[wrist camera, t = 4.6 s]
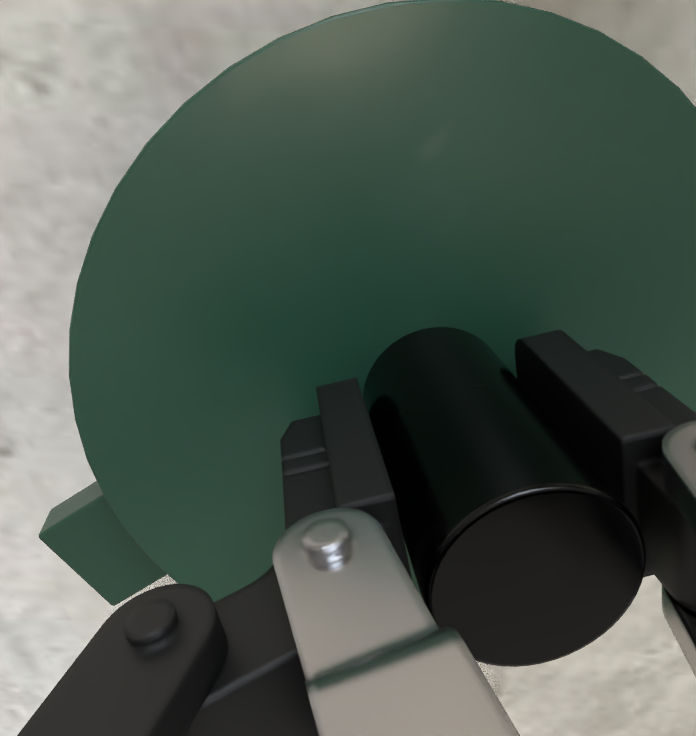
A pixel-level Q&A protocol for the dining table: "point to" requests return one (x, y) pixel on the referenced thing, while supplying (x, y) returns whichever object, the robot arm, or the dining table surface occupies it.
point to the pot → (98, 546)
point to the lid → (396, 302)
